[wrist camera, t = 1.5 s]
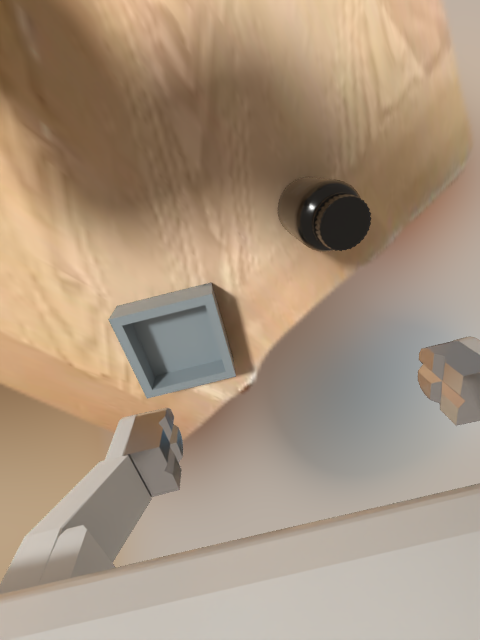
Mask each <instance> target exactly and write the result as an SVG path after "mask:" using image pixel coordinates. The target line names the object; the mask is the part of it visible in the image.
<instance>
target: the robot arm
mask: <svg viewBox="0 0 480 640" xmlns="http://www.w3.org/2000/svg"><path fill="white" fill-rule="evenodd" d="M419 360H420V361H421V363H422V364H423V365H422V366H421V368H420V369H419V370H418V382H419V385H420V387H421V389H422V391H423V392H424V394H425V395H426V396H427V397H428V398H429V399H430V400H432V401H435V402H438V403H440V410H441V411H442V412H443V413H444V414H445V415H446V416H447V417H448V418H449V419H450V420H451V421H452V422H453V423H454V424H455V425H461V424H466V423H471V422H476V421H480V340H478V339H477V338H474V337H465V338H461V339H457V340H454V341H452V342H447V343H443V344H439V345H435V346H431V347H426V348H422V349H421V351H420V353H419ZM173 421H174V416H173V413H172V411H171V409H169V408H164V409H160V410H155V411H150V412H145V413H141V414H138V415H132V416H127V417H123V418H122V419H121V420H120V421H119V423H118V426H117V429H116V431H115V434H114V437H113V439H112V442H111V445H110V447H109V451H108V453H107V456H106V458H105V460H104V461H101V462H99V463H98V464H97V465H96V466H95V467H94V468H93V469H92V470H91V471H90V472H89V473H88V474H87V475H86V476H85V477H84V478H83V479H82V480H81V481H80V482H79V483H78V484H77V485H76V486H75V487H74V488H73V489H72V490H71V491H70V492H69V493H68V494H67V495H66V496H65V497H64V498H63V499H62V500H61V501H60V502H59V503H58V504H57V505H56V506H55V507H54V508H53V509H52V510H51V511H50V512H49V513H48V514H47V515H46V516H45V517H44V518H43V519H42V520H41V521H40V522H39V523H38V524H37V525H36V526H35V527H34V528H33V529H32V530H31V531H30V532H29V533H28V534H27V535H26V536H25V537H24V539H23V541H22V543H21V545H20V547H19V549H18V551H17V553H16V554H15V556H14V558H13V560H12V562H11V564H10V566H9V568H8V570H7V572H6V574H5V576H4V578H3V580H2V582H1V584H0V640H480V484H475V485H471V486H466V487H462V488H458V489H454V490H449V491H445V492H441V493H436V494H432V495H428V496H424V497H419V498H415V499H411V500H407V501H402V502H397V503H393V504H389V505H385V506H380V507H376V508H371V509H367V510H363V511H359V512H354V513H350V514H345V515H341V516H337V517H332V518H328V519H324V520H319V521H315V522H311V523H307V524H302V525H298V526H293V527H289V528H285V529H281V530H276V531H272V532H267V533H263V534H259V535H254V536H251V537H246V538H241V539H237V540H233V541H228V542H224V543H220V544H216V545H211V546H207V547H202V548H198V549H194V550H189V551H185V552H181V553H176V554H172V555H168V556H164V557H159V558H155V559H151V560H146V561H142V562H138V563H133V564H129V565H125V566H120V567H115V566H114V564H113V561H114V559H115V558H116V556H117V555H118V553H119V551H120V550H121V548H122V546H123V545H124V543H125V542H126V540H127V538H128V537H129V535H130V533H131V532H132V530H133V529H134V527H135V525H136V524H137V522H138V520H139V519H140V517H141V516H142V514H143V512H144V510H145V509H146V508H147V506H148V504H149V503H150V501H151V497H154V496H158V495H162V494H165V493H169V492H173V491H177V490H179V489H180V479H181V468H180V465H179V461H180V460H181V459H182V457H183V442H182V436H181V433H180V430H179V427H177V426H176V425H174V424H173Z"/></svg>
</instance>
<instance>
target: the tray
mask: <svg viewBox="0 0 480 640" xmlns="http://www.w3.org/2000/svg"><path fill="white" fill-rule="evenodd" d="M109 322H110V324H111V326H112V328H113V330H114V332H115V334H116V336H117V338H118V340H119V342H120V344H121V346H122V348H123V350H124V352H125V354H126V356H127V359H128V361H129V363H130V365H131V367H132V369H133V371H134V373H135V375H136V377H137V379H138V381H139V383H140V385H141V387H142V389H143V391H144V393H145V395H146V397H147V398H151V397H155V396H159V395H163V394H167V393H171V392H175V391H179V390H183V389H187V388H191V387H195V386H199V385H203V384H207V383H211V382H215V381H219V380H223V379H228V378H232V377H236V373H235V367H234V360H233V357H232V353H231V350H230V346H229V343H228V339H227V336H226V332H225V329H224V325H223V322H222V318H221V315H220V311H219V307H218V304H217V300H216V297H215V293H214V290H213V286H212V283H208V284H204V285H199V286H195V287H191V288H187V289H183V290H179V291H175V292H171V293H167V294H163V295H159V296H155V297H151V298H147V299H143V300H139V301H135V302H131V303H127V304H123V305H119V306H117V307H116V308H115V310H114V312H113V313H112V315H111V316H110V318H109Z"/></svg>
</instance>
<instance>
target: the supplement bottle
mask: <svg viewBox="0 0 480 640" xmlns="http://www.w3.org/2000/svg"><path fill="white" fill-rule="evenodd" d="M370 215H371V213H370V212H369V208H368V206H367V204H366V203H365V202H364V200H361V198H360V196H359V194H358V193H357V191H356V190H355V189H354V188H353V187H352V186H351V185H349V184H348V183H346V182H343V181H339V180H333V179H325V178H316V177H303V178H299V179H297V180H295V181H293V182H292V183H290V184H289V185H288V186H287V187H286V188H285V190H284V191H283V193H282V195H281V197H280V199H279V203H278V216H279V220H280V222H281V224H282V226H283V227H284V228H285V229H286V230H287V231H288V232H289V233H290V234H292V235H293V236H294V237H296V238H297V239H298V240H300V241H301V242H302V243H303V244H305V245H306V246H308V247H309V248H311V249H313V250H316V251H322V252H327V251H333V250H335V251H337V250H339V251H342V250H347V249H351V248H352V247H355V246H356V245H357V244H359V243H360V242H361V240H363V239H364V236H365V235H366V234H367V231H368V230H369V226H370V221H371V217H370Z"/></svg>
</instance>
